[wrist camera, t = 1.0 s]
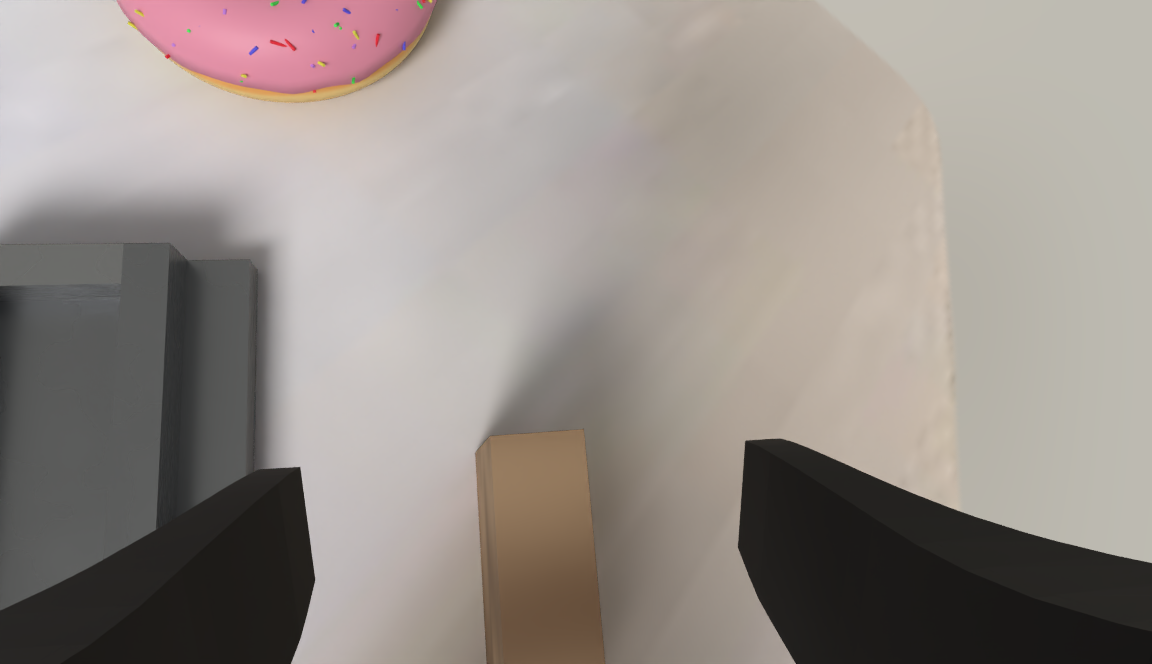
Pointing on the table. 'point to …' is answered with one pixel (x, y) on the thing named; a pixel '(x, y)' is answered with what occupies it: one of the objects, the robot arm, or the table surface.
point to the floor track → (116, 398)
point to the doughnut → (283, 42)
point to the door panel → (538, 550)
